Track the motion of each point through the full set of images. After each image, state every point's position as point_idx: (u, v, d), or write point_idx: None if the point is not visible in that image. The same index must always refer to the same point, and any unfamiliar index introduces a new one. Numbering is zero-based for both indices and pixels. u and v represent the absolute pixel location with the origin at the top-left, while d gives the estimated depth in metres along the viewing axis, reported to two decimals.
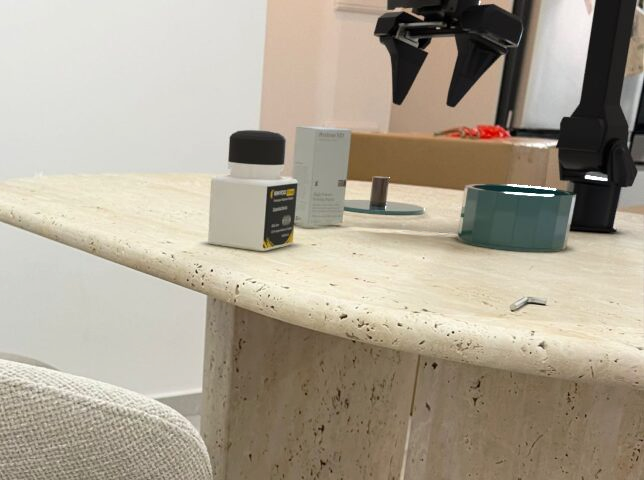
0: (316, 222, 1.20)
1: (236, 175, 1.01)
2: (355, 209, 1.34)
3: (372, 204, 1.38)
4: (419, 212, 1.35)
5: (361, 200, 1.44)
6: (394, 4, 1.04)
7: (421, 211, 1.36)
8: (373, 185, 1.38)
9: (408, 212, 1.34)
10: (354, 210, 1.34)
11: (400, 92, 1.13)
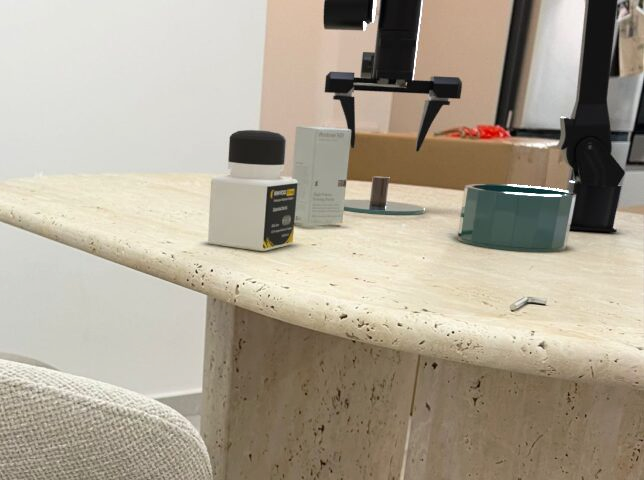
0: (316, 222, 1.20)
1: (236, 175, 1.01)
2: (355, 209, 1.34)
3: (372, 204, 1.38)
4: (419, 212, 1.35)
5: (361, 200, 1.44)
6: None
7: (421, 211, 1.36)
8: (373, 185, 1.38)
9: (408, 212, 1.34)
10: (354, 210, 1.34)
11: (416, 141, 1.36)
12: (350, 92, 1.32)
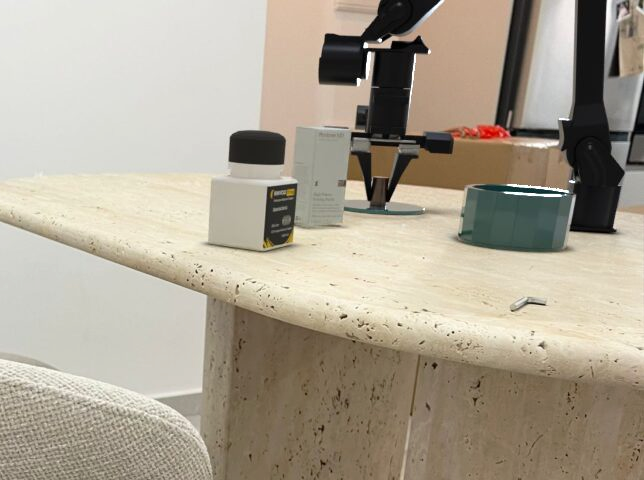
0: (316, 222, 1.20)
1: (236, 175, 1.01)
2: (355, 209, 1.34)
3: (372, 204, 1.38)
4: (419, 212, 1.35)
5: (361, 200, 1.44)
6: None
7: (421, 211, 1.36)
8: (373, 185, 1.38)
9: (408, 212, 1.34)
10: (354, 210, 1.34)
11: (387, 192, 1.38)
12: (367, 148, 1.35)
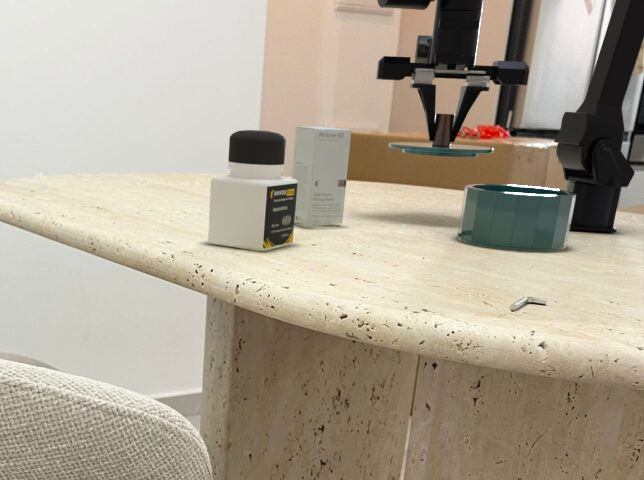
0: (316, 222, 1.20)
1: (236, 175, 1.01)
2: (417, 148, 1.20)
3: (435, 144, 1.25)
4: (489, 151, 1.22)
5: None
6: None
7: (491, 150, 1.22)
8: (437, 123, 1.24)
9: (477, 150, 1.20)
10: (416, 149, 1.21)
11: (452, 131, 1.25)
12: (431, 80, 1.21)
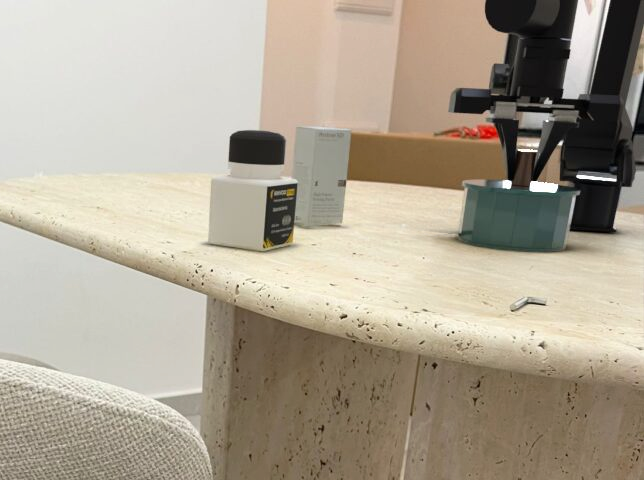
0: (316, 222, 1.20)
1: (236, 175, 1.01)
2: (499, 189, 1.08)
3: (515, 184, 1.13)
4: (577, 193, 1.10)
5: (494, 180, 1.19)
6: None
7: (578, 192, 1.10)
8: (517, 161, 1.12)
9: (565, 193, 1.08)
10: (498, 190, 1.08)
11: None
12: (513, 114, 1.09)
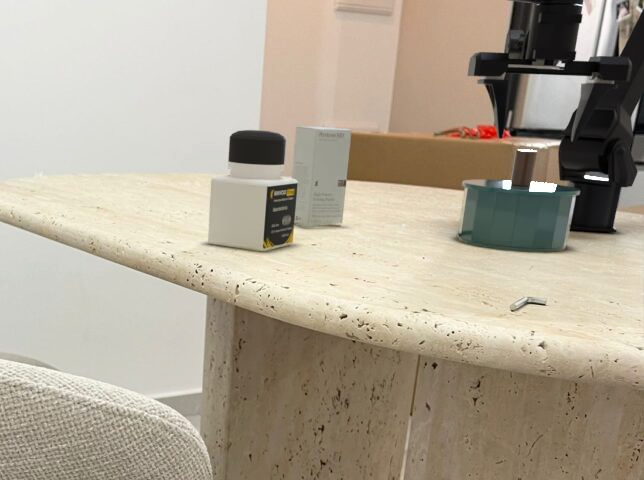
0: (316, 222, 1.20)
1: (236, 175, 1.01)
2: (499, 189, 1.08)
3: (515, 184, 1.13)
4: (577, 193, 1.10)
5: (494, 180, 1.19)
6: None
7: (578, 192, 1.10)
8: (517, 161, 1.12)
9: (565, 193, 1.08)
10: (498, 190, 1.08)
11: (573, 130, 1.20)
12: (503, 75, 1.17)
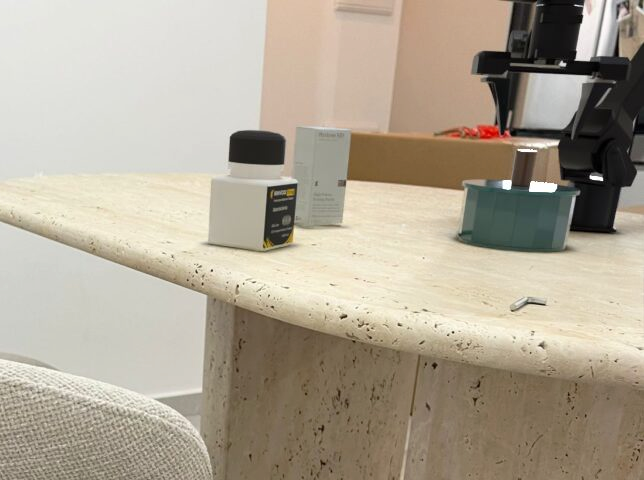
0: (316, 222, 1.20)
1: (236, 175, 1.01)
2: (499, 189, 1.08)
3: (515, 184, 1.13)
4: (577, 193, 1.10)
5: (494, 180, 1.19)
6: None
7: (578, 192, 1.10)
8: (517, 161, 1.12)
9: (565, 193, 1.08)
10: (498, 190, 1.08)
11: (573, 128, 1.23)
12: (505, 73, 1.20)
